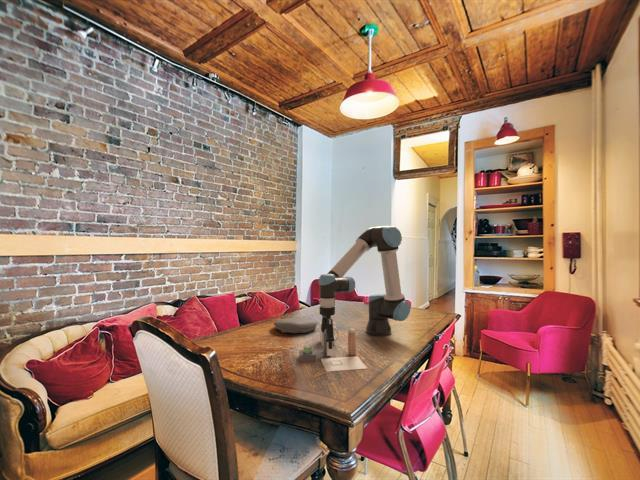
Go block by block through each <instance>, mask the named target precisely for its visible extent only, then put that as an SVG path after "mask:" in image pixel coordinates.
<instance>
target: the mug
mask: <svg viewBox="0 0 640 480" xmlns="http://www.w3.org/2000/svg"><path fill="white" fill-rule="evenodd" d="M321 324H322V320H321V321H320V322H319V342H320V343H321V344H322V333H323V332H322V330H321ZM333 334H334V341H333V344H334V343H335V342H336V341H337V340H338V339H339V335H340V333H339V330H338V329H337V327H336V322H335V321H334V320H333ZM336 334H337V337H336Z"/></svg>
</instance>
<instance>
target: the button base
mask: <svg viewBox="0 0 640 480" xmlns="http://www.w3.org/2000/svg"><path fill="white" fill-rule="evenodd" d="M298 351H299V356H298V357H299V361H300V362H301V363H306V362H316V361H317V354H316V352H315V349H313V348H312V354H304V353H303V349H300V350H298Z"/></svg>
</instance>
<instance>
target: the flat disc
mask: <svg viewBox="0 0 640 480" xmlns="http://www.w3.org/2000/svg"><path fill="white" fill-rule="evenodd" d="M318 324H319V322H318V320H317V319H314V318H309V317H286V318H285V317H284V318H282V319H278V320H275V322H273V325H274V327H275V329H276V330H278V331H281V333H283V334H284V333H291V334H294V335H296V334H299V333H304V334H305V333H309V332H312V331H314V330H315V329H316V328H317V325H318Z"/></svg>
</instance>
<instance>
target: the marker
mask: <svg viewBox="0 0 640 480" xmlns="http://www.w3.org/2000/svg"><path fill="white" fill-rule="evenodd" d="M330 339H331V338H330ZM326 340H327V332H326V329H325V330H324V346H323V358H332V355H331V356H327V342H326Z"/></svg>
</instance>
